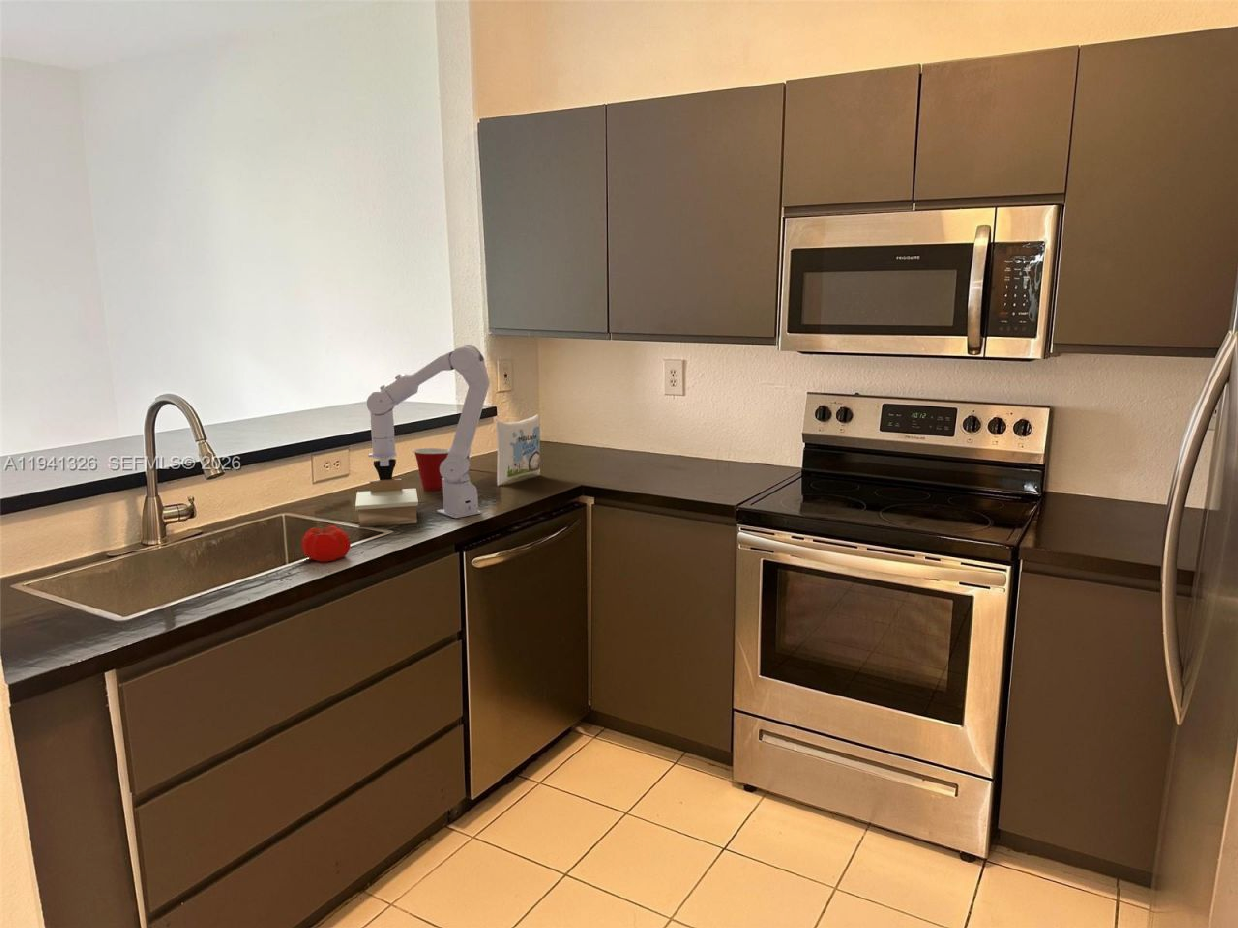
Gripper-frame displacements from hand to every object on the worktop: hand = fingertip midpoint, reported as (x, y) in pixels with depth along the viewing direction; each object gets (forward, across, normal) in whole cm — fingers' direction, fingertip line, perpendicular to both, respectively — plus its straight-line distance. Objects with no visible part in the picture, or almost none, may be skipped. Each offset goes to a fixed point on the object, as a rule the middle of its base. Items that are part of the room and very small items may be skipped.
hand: (386, 487), depth 227 cm
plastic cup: (+7, -26, +13) cm, 30 cm away
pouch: (+7, -29, +40) cm, 50 cm away
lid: (+2, +8, 0) cm, 9 cm away
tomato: (+7, +37, -13) cm, 40 cm away
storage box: (+7, +5, 0) cm, 9 cm away
